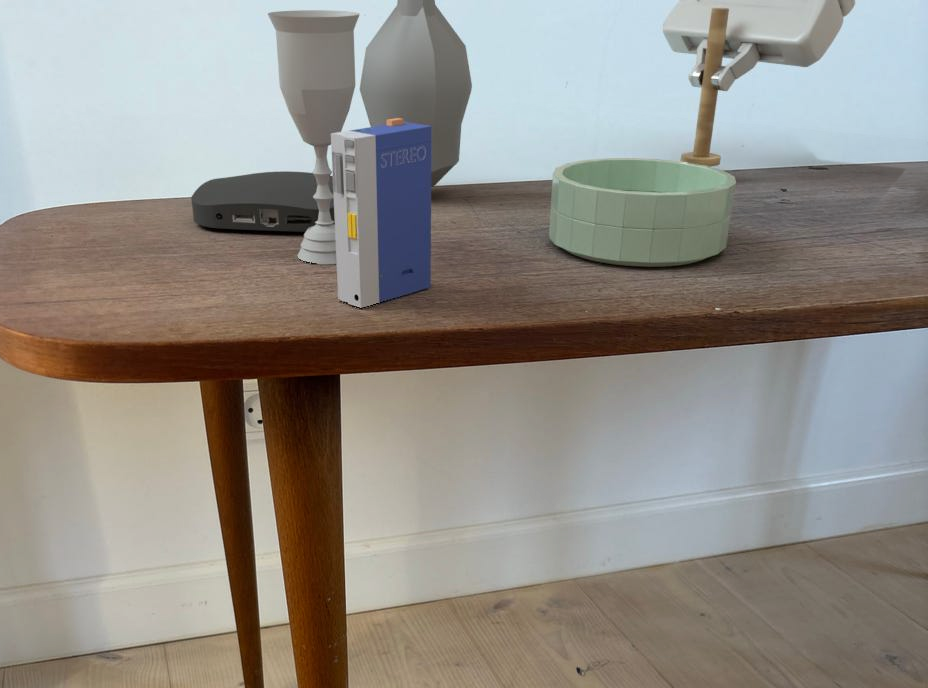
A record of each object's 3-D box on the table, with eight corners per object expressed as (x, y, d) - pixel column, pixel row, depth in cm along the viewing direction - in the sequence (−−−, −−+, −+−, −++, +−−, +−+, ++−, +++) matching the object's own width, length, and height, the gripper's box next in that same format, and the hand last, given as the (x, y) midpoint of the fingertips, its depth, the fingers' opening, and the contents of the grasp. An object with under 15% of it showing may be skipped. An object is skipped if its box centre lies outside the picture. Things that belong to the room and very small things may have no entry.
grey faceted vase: (467, 184, 116) (474, -158, 99) (473, 208, 106) (482, -165, 89) (365, 184, 115) (354, -160, 98) (361, 207, 106) (349, -168, 89)
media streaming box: (365, 202, 108) (364, 170, 106) (339, 237, 96) (338, 202, 94) (226, 197, 109) (223, 166, 107) (183, 231, 97) (178, 197, 95)
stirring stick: (724, 161, 119) (746, 7, 111) (713, 168, 116) (735, 10, 108) (686, 158, 121) (706, 6, 113) (675, 164, 118) (693, 8, 109)
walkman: (405, 280, 85) (404, 116, 78) (431, 287, 83) (432, 120, 76) (334, 301, 80) (326, 128, 73) (360, 309, 78) (354, 133, 72)
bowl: (744, 238, 97) (755, 169, 94) (694, 280, 86) (706, 202, 83) (586, 218, 103) (592, 152, 100) (521, 254, 92) (524, 180, 88)
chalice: (324, 241, 95) (312, 8, 84) (384, 254, 91) (378, 13, 81) (267, 259, 90) (247, 13, 79) (328, 272, 86) (315, 18, 76)
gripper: (696, -51, 118) (625, 54, 118) (853, -46, 104) (772, 72, 105) (716, -5, 122) (648, 95, 123) (869, 5, 109) (791, 117, 110)
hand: (706, 85), depth 114 cm, fingers closed on stirring stick, 2 cm apart
